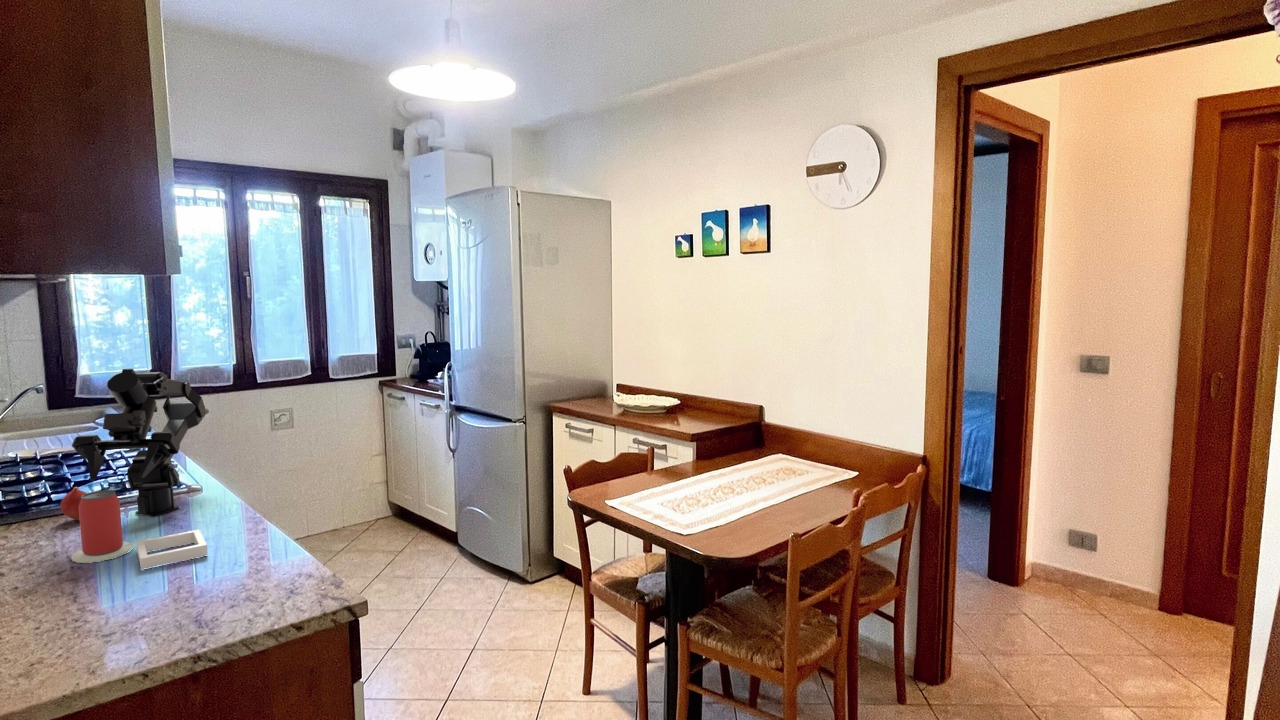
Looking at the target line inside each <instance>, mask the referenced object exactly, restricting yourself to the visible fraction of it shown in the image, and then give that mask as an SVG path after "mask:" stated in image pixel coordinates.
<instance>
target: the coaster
mask: <svg viewBox="0 0 1280 720" xmlns="http://www.w3.org/2000/svg"><path fill="white" fill-rule="evenodd" d="M132 548H133V549H134V544H133V543H132V542H129V541H123V545H122V547H121V548H120V549H118V550H116V551H114V552H111V553H108V554H103V555H96V556H91V555H86V554H84V553H83V551H82V548H81V549H79V550H77V551H76V552H74V553H72V554H71V562H72V563H74V562H76V563H75V564H79V563H89V564H91V563H90V562H98V561H103V562H105V561H104V560H108V559H112V558H115V557H118V556H121V555H123V554H125V553H127V552H128V551H130V550H131V549H132ZM121 557H122V556H121ZM118 558H119V557H118ZM115 559H116V558H115ZM112 560H113V559H112ZM108 561H109V560H108ZM98 563H99V562H98Z"/></svg>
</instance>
